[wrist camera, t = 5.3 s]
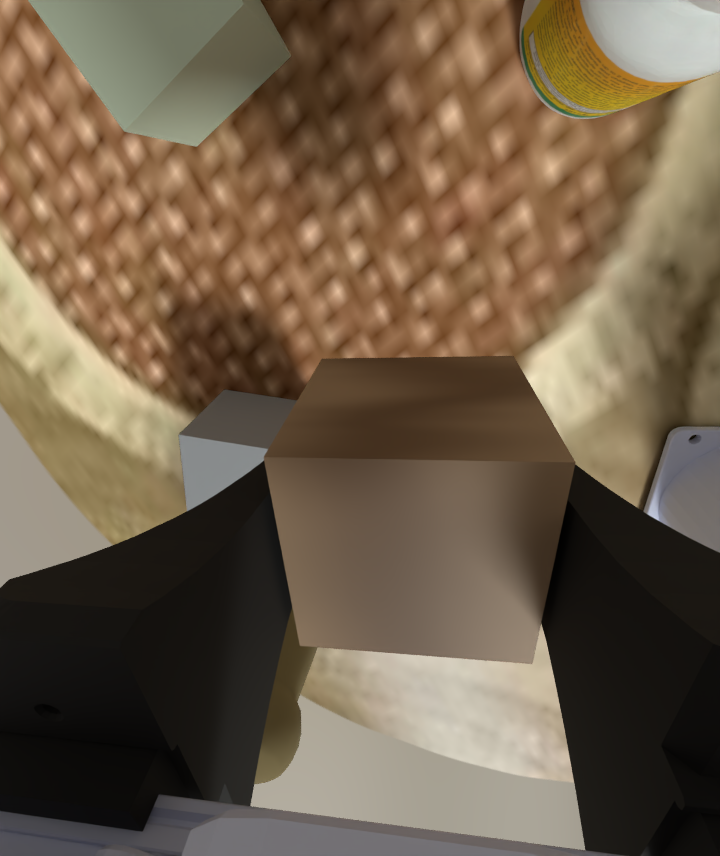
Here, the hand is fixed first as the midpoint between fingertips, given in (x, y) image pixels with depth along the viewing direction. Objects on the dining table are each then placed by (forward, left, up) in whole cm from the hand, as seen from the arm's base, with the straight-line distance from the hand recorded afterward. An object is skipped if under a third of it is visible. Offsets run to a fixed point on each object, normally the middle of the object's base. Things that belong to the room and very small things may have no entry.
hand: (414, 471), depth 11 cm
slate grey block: (+8, +5, -10) cm, 14 cm away
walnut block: (0, 0, -2) cm, 2 cm away
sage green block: (+8, -12, -10) cm, 18 cm away
